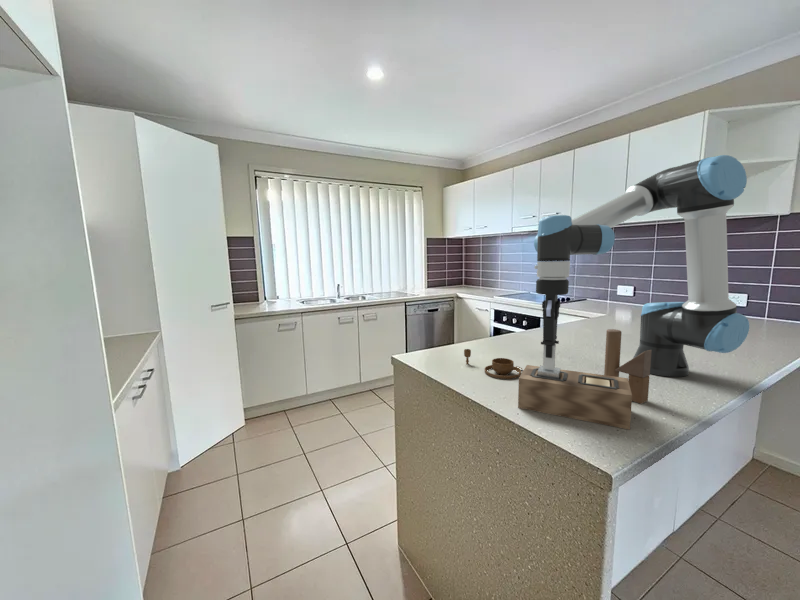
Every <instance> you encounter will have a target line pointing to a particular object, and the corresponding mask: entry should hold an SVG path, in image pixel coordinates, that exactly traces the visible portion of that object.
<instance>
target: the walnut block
mask: <svg viewBox="0 0 800 600" xmlns="http://www.w3.org/2000/svg"><path fill="white" fill-rule="evenodd" d="M539 367H540V366H538V365H537V366H536V365H531V364H526V366H525V367H524V369H523V371H521V375H520V376H519V377H518V397H517V399H518V400H517V402H518V403H517V408H519V409H523V410H528V411H532V412H533V411H534V412H538V413H543V414H547V415H548V414H549V415H555V416H559V417H564V418H568V419H572V420H573V419H574V420H579V421H583V422H589V423H594V424H600V425H603V426H608V427H609V426H610V427H613V428H614V427H615V428H620V429H625V430H631V420H632V419H631V417H632V402H633V401H632V393H631V389H630V385H629V382H628V379H629V377H628V378H627V377H620V376H619V377H614V376H607V375H604V374H598V373H591V372H583V371H576V370H575V371H574V370H568V369H562V368H561V373H560V379H555V378H548V377H541V376H538V369H539ZM586 377H588V378H595V379H603V380H609V382H610V387H609V386H602V385H595V384H589V383H586Z"/></svg>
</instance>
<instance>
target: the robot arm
mask: <svg viewBox="0 0 800 600" xmlns="http://www.w3.org/2000/svg"><path fill="white" fill-rule="evenodd" d="M747 181H748V177H747V173H746V169H745V167H744V166H743V164H742V163H741V161H740V160H738V159H737V158H736V157H734V156H732V155H728V154H721V155H717V156H711V157H705V158H702V159H699V160H695V161H693V162H689V163H685V164H682V165H678V166H673V167H670V168H667V169H664V170H661V171H658V172H657V173H655V174H653V175H651V176H649V177H647V178H645V179H643V180H642V181H639V182H638V183H636V184H634V185H632V186H629V187H628V188H627V189H626V190H625V191H624V193H622V194H621V195H619V196H617V197H615V198H613V199H611V200H608V201H607V202H605V203H603V204H600V205H599V206H597V207H595V208H592V209H590V210H588V211H587V212H584V213H583V214H581V215H579V216H577V217H574V218H572V217H571V216H570V215H566V214H564V215H563V214H557V215H548V216H543V217H541V218H540V219H539V221H538V227H537V234H536V235H535V237H534V241H533V246H534V249H535V251H536V252H537V254H536V255H537V256H536V261H537V262H536V265H534V267H533V268H534V269H535V270H536V277H537V278H538V279H537V280H536V281H535V287H536V288H535V292H536V294H538V295H545V299H544V300H543V301H542V303H541V309H542V320H543V321H542V323H543V325H542V326H543V327H542V333H543V334H542V335H543V336H542V341H540V345H543V354H542V355H543V357H542V362H543V363H542V366H543V369H549V370H554V369H555V367H556V352H557V351H556V349H557V348H556V347H557V346H556V345H557V344H558V345H559V343H560V341H559V340H557V339H558V335H557V331H558V319H559V316H560V307H561V300H559V298H558V296H565V295H568V293H569V288H570V287H569V285H570V281H569V279H567V278H569V277H570V271H571V270H570V269H571V266H570V265H571V256H574V255H575V256H576V255H577V256H581V255H593V256H596V255H603V254H607V253H608V252H609V251H611V250H612V248H613V246H614V245H615V239H616V236H615V235H616V234H615V232H614V230H613V228H614V227H615V226H618V225H620V224H622V223H624V222H626V221H627V220H630V219H633V218H634V217H635V216H637V217H639V216H645V215H647V214H649V213H651V212H652V213H653V212H655V211H660V210H665V209H673V208H674V209H675V208H676V214H677V215H678V216H679V217H681V218H682V219H684V236H685V257H686V258H685V259H686V279H687V282H686V283H687V298H688V300H686V301H664V302H661V301H660V302H659V301H658V302H647V303H645V304H643V306H642V307H641V309H642V310H641V314H640V328H639V329H640V331H639V345H638V347H637V349H636V352H635V353H634V355H633V357H632V359H633V358H635V357H636V356H638V355H640V354H641V353H643V352H645V351H648V350H652V351H651V365H650V375H656V376H662V377H673V378H675V377H676V378H679V377H681V378H682V377H686V376H688V375H689V372H690V366H689V364H688V360H687V357H686V355H685V351H684V346H686V347H687V346H689V347H690V348H695V349H699V350H700V349H701V350H704V351H707V352H715V353H720V354H726V353H727V354H728V353H732V352H735V351H736V350H737V349H738V348H740V347H741V346H742V344H743V343H744V342H745V341H746V340H747V337H748V335H749V331H750V320H749V319H748V318H747V316H746V315H743V314H741V313H738V311H737V303H735V302H733V301H732V300H731V299H730V298H729V269H728V268H729V267H728V266H729V265H728V260H729V259H728V228H727V227H728V226H727V224H728V223H727V213H728V211H730V210H731V209H732V208H733V207H734V205H735V199H737V198H739V197H740V196H741V195H742V194H743V193H744V191H745V188H746V187H747Z"/></svg>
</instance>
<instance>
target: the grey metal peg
mask: <svg viewBox="0 0 800 600" xmlns="http://www.w3.org/2000/svg"><path fill="white" fill-rule="evenodd" d="M561 369H562V368H561V367H556V366H555V369H554V370H549V369H543V365H540V366H539V369H538V376H541V377H548V378H555V379H560V373H561Z"/></svg>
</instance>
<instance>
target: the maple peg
mask: <svg viewBox="0 0 800 600" xmlns="http://www.w3.org/2000/svg"><path fill="white" fill-rule="evenodd" d="M586 383H589V384H595V385H602V386H609V387H610V382H609V380H603V379H595V378H588V377H586Z"/></svg>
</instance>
